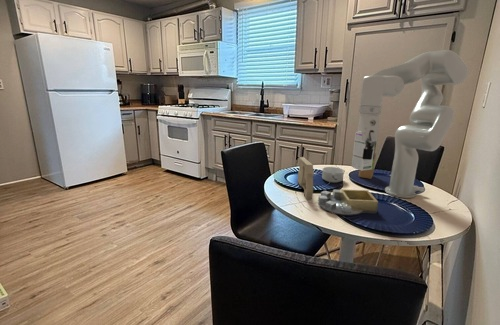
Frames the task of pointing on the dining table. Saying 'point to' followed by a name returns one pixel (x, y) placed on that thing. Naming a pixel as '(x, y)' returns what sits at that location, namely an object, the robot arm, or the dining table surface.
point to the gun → (306, 177)
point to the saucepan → (332, 174)
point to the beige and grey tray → (348, 202)
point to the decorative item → (367, 172)
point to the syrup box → (361, 154)
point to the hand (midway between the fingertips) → (363, 156)
